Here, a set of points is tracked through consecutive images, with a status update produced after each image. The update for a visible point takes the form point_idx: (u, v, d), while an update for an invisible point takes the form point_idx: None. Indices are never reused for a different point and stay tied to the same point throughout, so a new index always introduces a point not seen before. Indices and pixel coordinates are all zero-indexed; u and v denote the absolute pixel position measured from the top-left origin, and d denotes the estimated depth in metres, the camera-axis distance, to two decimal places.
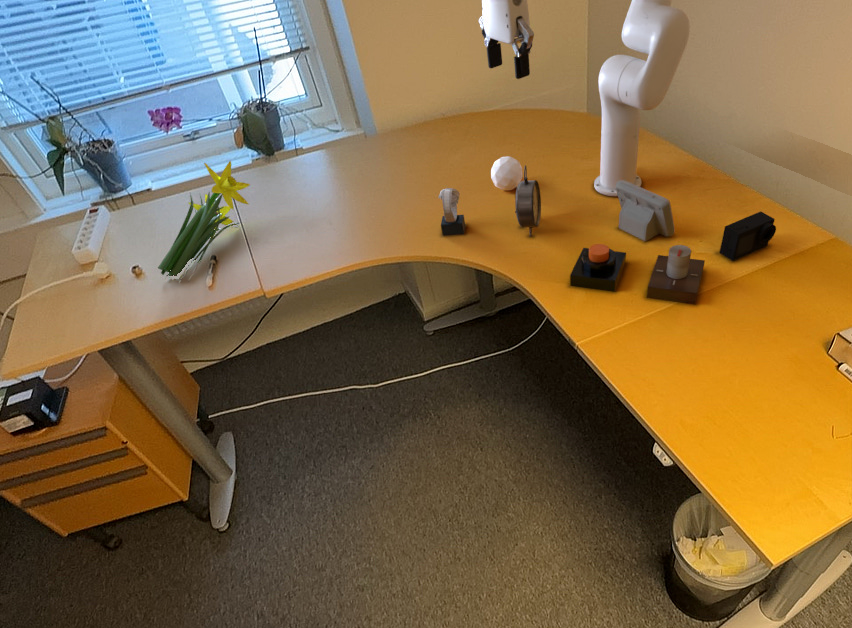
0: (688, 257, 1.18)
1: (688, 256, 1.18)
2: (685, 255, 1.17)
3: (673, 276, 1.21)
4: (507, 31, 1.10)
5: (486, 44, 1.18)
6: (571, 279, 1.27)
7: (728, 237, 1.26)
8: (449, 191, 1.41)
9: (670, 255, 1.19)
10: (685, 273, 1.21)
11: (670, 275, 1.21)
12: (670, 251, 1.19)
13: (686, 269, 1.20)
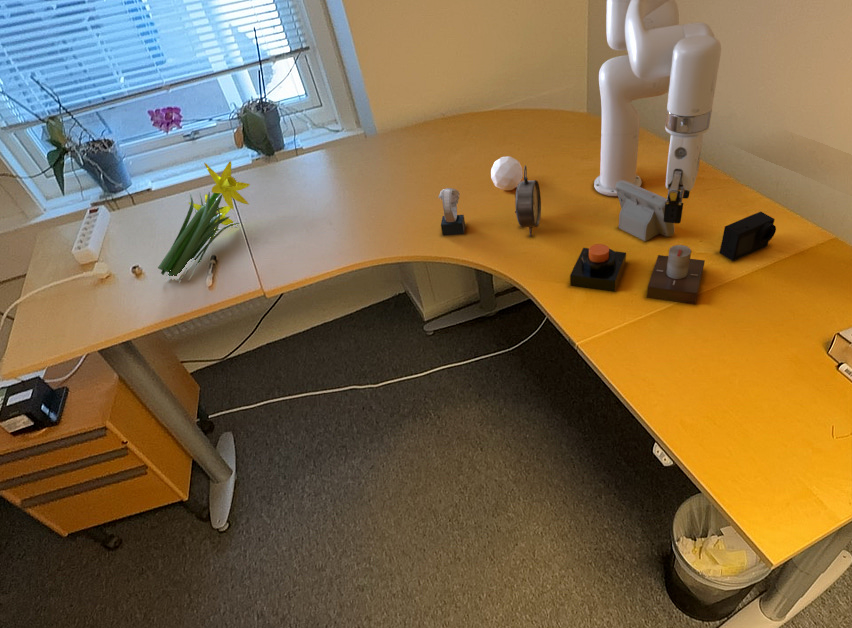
0: (688, 257, 1.18)
1: (688, 256, 1.18)
2: (685, 255, 1.17)
3: (673, 276, 1.21)
4: None
5: None
6: (571, 279, 1.27)
7: (728, 237, 1.26)
8: (449, 191, 1.41)
9: (670, 255, 1.19)
10: (685, 273, 1.21)
11: (670, 275, 1.21)
12: (670, 251, 1.19)
13: (686, 269, 1.20)
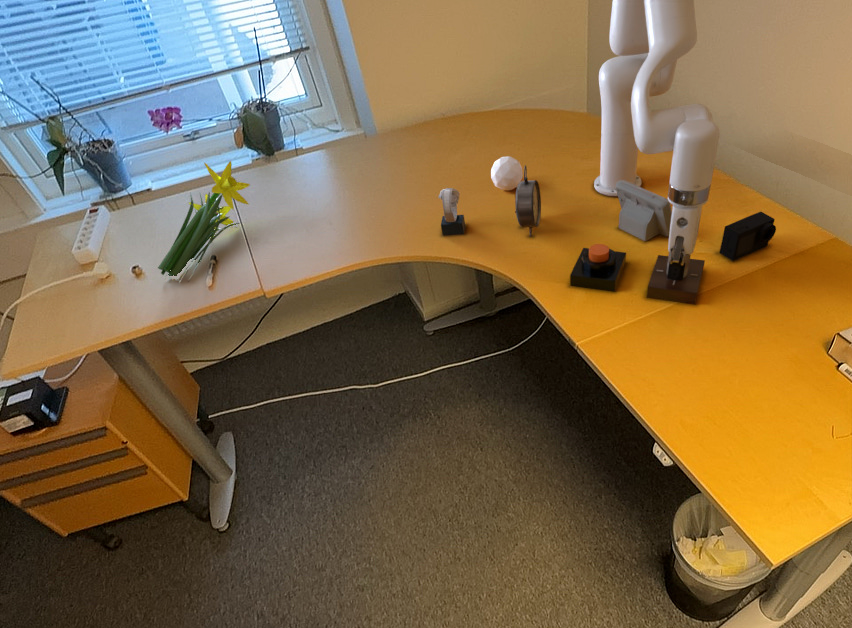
0: (688, 257, 1.18)
1: (688, 256, 1.18)
2: (685, 255, 1.17)
3: None
4: None
5: None
6: (571, 279, 1.27)
7: (728, 237, 1.26)
8: (449, 191, 1.41)
9: (670, 255, 1.19)
10: (685, 273, 1.21)
11: None
12: None
13: (686, 269, 1.20)
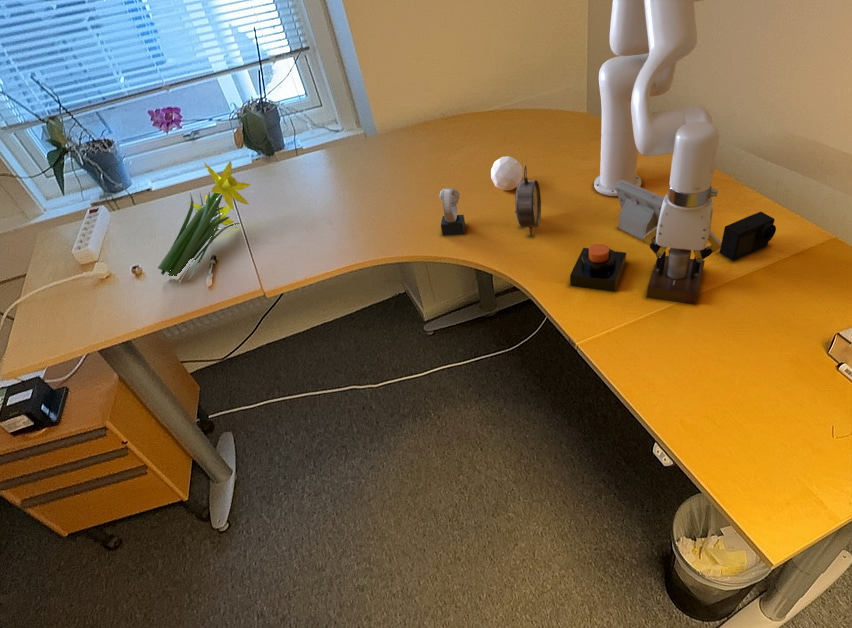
0: None
1: None
2: None
3: (687, 273, 1.21)
4: (701, 242, 1.13)
5: (659, 256, 1.20)
6: (571, 279, 1.27)
7: (728, 237, 1.26)
8: (449, 191, 1.41)
9: (685, 257, 1.18)
10: None
11: (685, 274, 1.21)
12: (682, 256, 1.17)
13: None
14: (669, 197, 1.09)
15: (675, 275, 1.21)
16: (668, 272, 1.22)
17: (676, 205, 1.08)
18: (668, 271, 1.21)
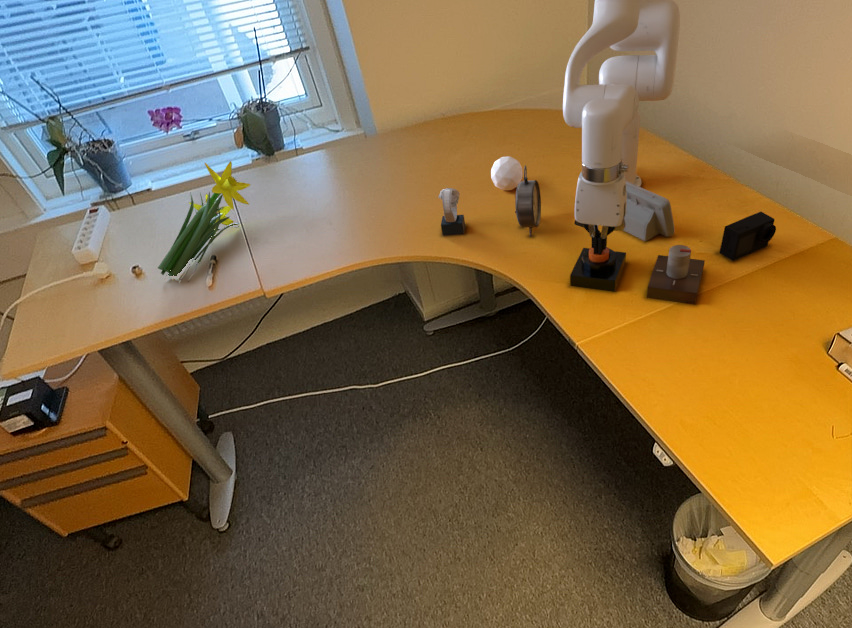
0: None
1: None
2: (687, 247, 1.19)
3: (687, 273, 1.21)
4: (616, 217, 1.16)
5: (593, 235, 1.22)
6: (571, 279, 1.27)
7: (728, 237, 1.26)
8: (449, 191, 1.41)
9: (685, 257, 1.18)
10: None
11: (685, 274, 1.21)
12: (682, 256, 1.17)
13: None
14: (582, 173, 1.12)
15: (675, 275, 1.21)
16: (668, 272, 1.22)
17: (588, 181, 1.11)
18: (668, 271, 1.21)
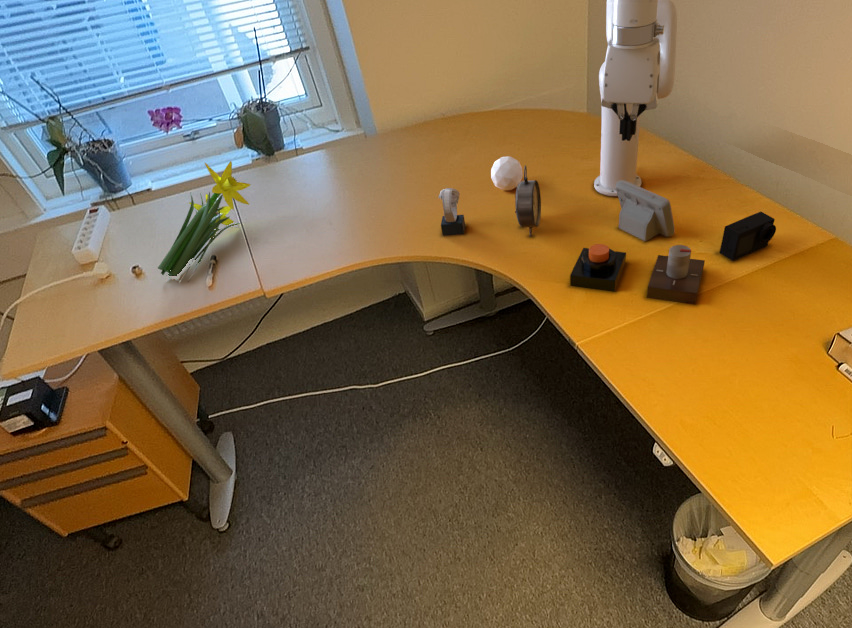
0: None
1: None
2: (687, 247, 1.19)
3: (687, 273, 1.21)
4: (648, 91, 1.05)
5: (622, 117, 1.11)
6: (571, 279, 1.27)
7: (728, 237, 1.26)
8: (449, 191, 1.41)
9: (685, 257, 1.18)
10: None
11: (685, 274, 1.21)
12: (682, 256, 1.17)
13: None
14: (612, 38, 1.02)
15: (675, 275, 1.21)
16: (668, 272, 1.22)
17: (619, 45, 1.01)
18: (668, 271, 1.21)
